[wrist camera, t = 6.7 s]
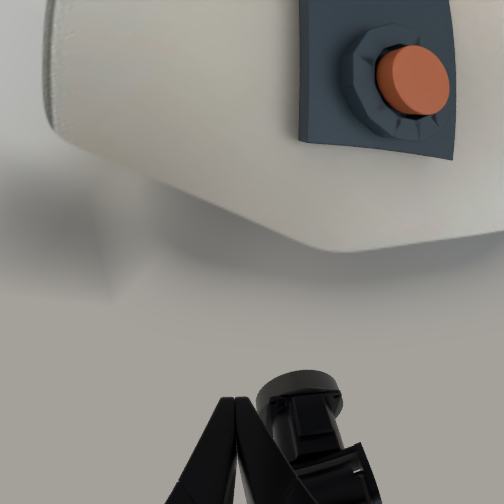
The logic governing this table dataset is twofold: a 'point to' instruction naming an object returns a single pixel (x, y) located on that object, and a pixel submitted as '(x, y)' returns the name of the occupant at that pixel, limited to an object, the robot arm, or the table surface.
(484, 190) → the table surface
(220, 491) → the robot arm
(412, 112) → the orange button cap
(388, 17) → the button housing
